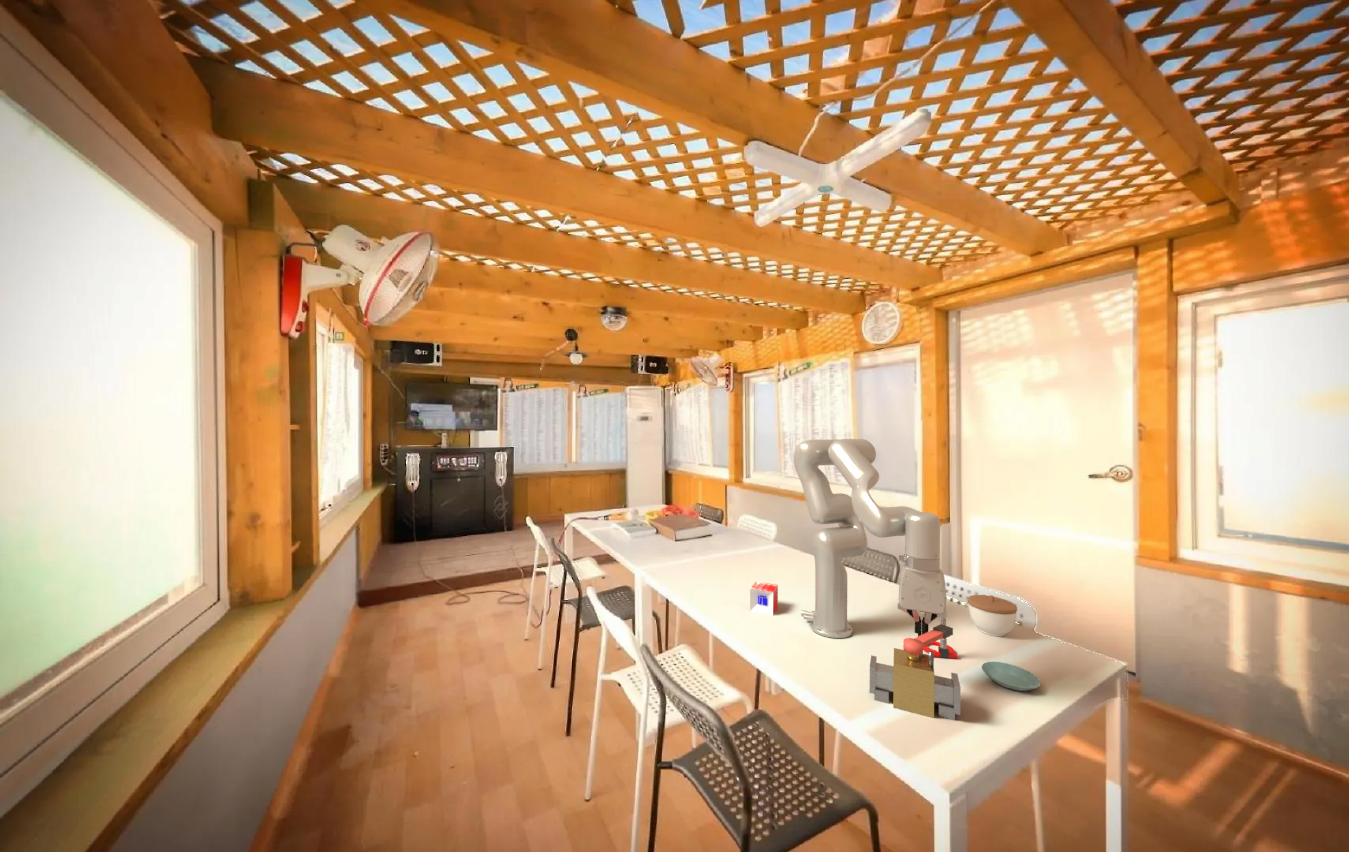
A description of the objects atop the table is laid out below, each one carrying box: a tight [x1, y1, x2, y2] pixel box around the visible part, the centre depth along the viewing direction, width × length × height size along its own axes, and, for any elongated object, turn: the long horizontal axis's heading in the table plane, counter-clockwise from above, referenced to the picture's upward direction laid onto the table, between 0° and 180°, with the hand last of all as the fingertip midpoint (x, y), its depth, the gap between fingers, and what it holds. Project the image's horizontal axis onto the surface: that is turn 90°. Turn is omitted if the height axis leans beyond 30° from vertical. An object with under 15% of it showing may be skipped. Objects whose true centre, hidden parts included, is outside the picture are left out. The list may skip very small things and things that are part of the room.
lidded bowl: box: [967, 594, 1018, 637], centre depth 141 cm, size 13×13×11 cm
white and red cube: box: [749, 581, 779, 616], centre depth 157 cm, size 8×8×8 cm
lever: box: [902, 623, 954, 655], centre depth 108 cm, size 18×4×2 cm, turn 123°
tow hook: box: [923, 617, 959, 660], centre depth 129 cm, size 8×13×9 cm
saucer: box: [981, 661, 1041, 692], centre depth 113 cm, size 12×12×2 cm
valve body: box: [869, 647, 962, 721], centre depth 104 cm, size 18×8×14 cm, turn 63°
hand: (921, 636), depth 112 cm, fingers closed
